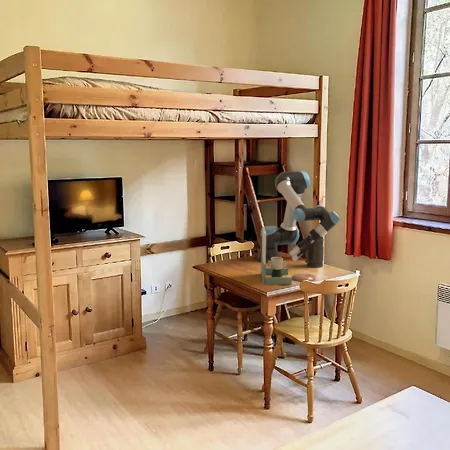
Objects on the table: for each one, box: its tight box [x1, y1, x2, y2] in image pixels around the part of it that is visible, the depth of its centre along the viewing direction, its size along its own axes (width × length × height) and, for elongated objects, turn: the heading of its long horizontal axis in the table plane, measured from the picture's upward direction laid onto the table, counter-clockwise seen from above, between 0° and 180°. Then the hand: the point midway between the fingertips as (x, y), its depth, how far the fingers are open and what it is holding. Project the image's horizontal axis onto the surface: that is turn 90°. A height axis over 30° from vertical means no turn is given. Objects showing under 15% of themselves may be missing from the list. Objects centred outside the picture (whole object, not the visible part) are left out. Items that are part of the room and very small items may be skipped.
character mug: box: [267, 256, 287, 277], centre depth 318 cm, size 11×7×13 cm, turn 86°
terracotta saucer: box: [292, 273, 317, 282], centre depth 320 cm, size 14×14×1 cm
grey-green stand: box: [260, 226, 293, 286], centre depth 316 cm, size 17×24×30 cm
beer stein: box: [304, 236, 325, 269], centre depth 349 cm, size 15×11×20 cm
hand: (291, 257), depth 315 cm, fingers open, 13 cm apart
